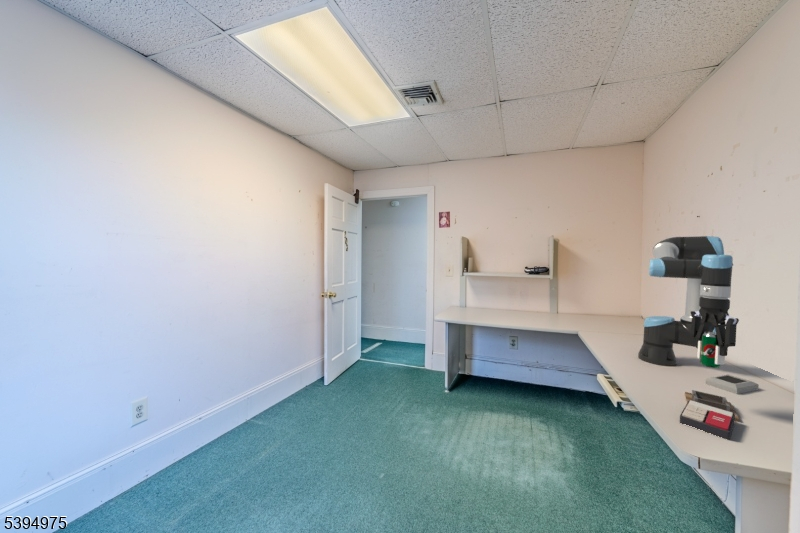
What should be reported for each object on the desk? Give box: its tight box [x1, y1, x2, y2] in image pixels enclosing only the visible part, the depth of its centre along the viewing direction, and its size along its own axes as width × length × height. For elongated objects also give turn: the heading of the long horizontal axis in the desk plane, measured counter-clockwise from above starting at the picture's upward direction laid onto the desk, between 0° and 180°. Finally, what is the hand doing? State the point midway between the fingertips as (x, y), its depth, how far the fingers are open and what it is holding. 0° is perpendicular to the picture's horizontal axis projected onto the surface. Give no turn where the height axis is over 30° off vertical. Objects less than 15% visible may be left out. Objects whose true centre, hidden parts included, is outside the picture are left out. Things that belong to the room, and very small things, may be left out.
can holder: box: [684, 389, 740, 423], centre depth 106 cm, size 15×12×3 cm
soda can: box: [699, 332, 721, 369], centre depth 106 cm, size 5×5×12 cm
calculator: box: [679, 400, 736, 441], centre depth 96 cm, size 11×4×15 cm
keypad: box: [705, 374, 760, 395], centre depth 124 cm, size 10×4×15 cm
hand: (710, 360), depth 106 cm, fingers closed on soda can, 5 cm apart
